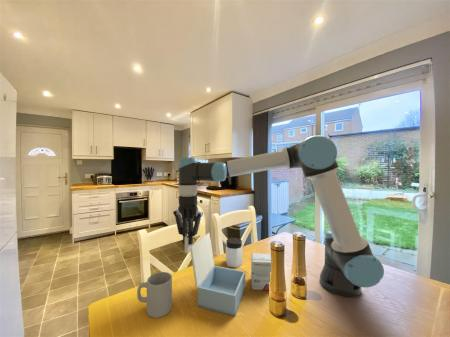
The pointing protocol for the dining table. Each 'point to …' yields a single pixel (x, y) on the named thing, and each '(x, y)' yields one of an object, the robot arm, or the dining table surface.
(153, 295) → the mug
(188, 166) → the robot arm
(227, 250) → the jar
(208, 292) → the blue lidded box
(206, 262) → the lid
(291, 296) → the dining table surface
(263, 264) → the ink box
